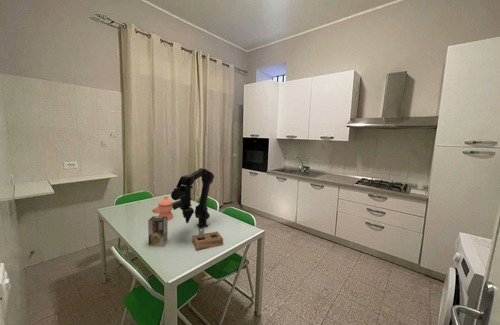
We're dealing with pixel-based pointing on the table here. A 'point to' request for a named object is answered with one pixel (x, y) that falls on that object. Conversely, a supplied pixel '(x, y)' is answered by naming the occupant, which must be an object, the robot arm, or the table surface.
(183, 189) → the robot arm
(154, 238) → the coffee box
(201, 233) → the pin
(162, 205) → the ceramic vessels
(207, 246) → the bore block
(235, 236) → the table surface
